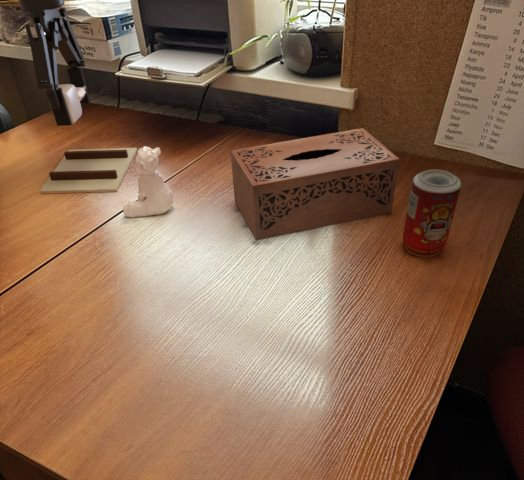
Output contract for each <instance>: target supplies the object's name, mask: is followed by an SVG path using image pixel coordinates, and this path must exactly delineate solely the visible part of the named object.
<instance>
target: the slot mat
mask: <svg viewBox="0 0 524 480" xmlns="http://www.w3.org/2000/svg"><path fill="white" fill-rule="evenodd" d="M137 152H138V148H137V147H117V148H116V147H115V148H114V147H113V148H111V147H110V148H86V149H84V148H83V149H79V148H78V149H68V150H67V151H64V153H63V155H64V156H63V158H62V159H61V160H60V162H59V163H58V164H57V166H56V167H55V169H54V170H53V171H50V172H49V173H48V175H49V177H47V180H46V181H45V182H44V184H43V185H42V187H41V188H40V189H39V194H40V195H42V194H45V195H46V194H81V193H84V194H85V193H86V194H87V193H117V192H118V191H119V188H120V186H121V185H122V182H123V180H124V178H125V176H126V174H127V172H128V171H129V168H130V167H131V164H132V163H133V160H134V158H135V157H136V155H137Z"/></svg>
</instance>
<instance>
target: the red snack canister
mask: <svg viewBox="0 0 524 480" xmlns="http://www.w3.org/2000/svg"><path fill="white" fill-rule="evenodd" d="M461 189H462V182H461V180H460V178H459V177H458V176H457V175H455V174H453V173H451V172H450V171H448V170H443V169H438V168H435V169H434V168H433V169H427V170H424V171H421V172H419V173H417V174H416V175H415V176H414V177H413V179H412V182H411V188H410V194H409V199H408V205H407V211H406V217H405V222H404V228H403V233H402V239H403V242H404V244H405V246H404V247H405V249H406V251H407V252H408V253H410V254H412V255H414V256H417V257H423V258H431V257H434V256H436V255H438V254H439V253H440V252H441V250H442V249H443V248H444V247H445V246H446V245H447V243H448V241H449V237H450V236H449V235H450V231H451V228H452V223H453V219H454V215H455V211H456V207H457V203H458V200H459V197H460V194H461V193H460V192H461Z"/></svg>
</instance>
